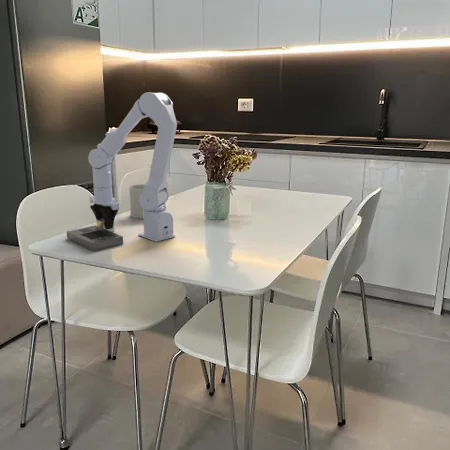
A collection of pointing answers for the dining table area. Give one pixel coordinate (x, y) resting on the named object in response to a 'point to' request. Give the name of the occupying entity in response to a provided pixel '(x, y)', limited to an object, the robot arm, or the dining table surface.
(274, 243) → the dining table surface
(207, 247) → the dining table surface
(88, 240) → the grey recessed tray
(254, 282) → the dining table surface
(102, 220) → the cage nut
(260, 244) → the dining table surface
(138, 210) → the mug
